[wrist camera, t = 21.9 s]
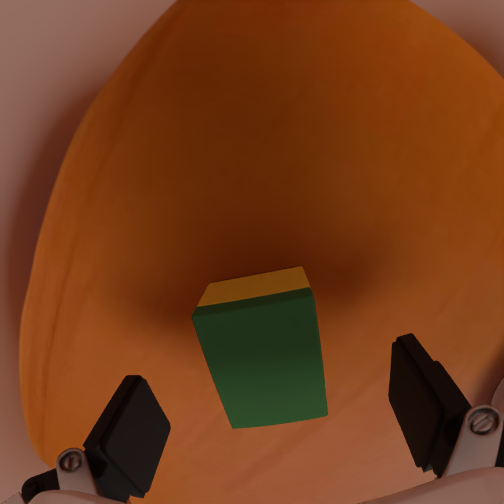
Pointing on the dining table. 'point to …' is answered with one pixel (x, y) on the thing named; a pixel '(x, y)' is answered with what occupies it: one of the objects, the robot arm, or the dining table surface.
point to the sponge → (263, 348)
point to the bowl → (499, 397)
